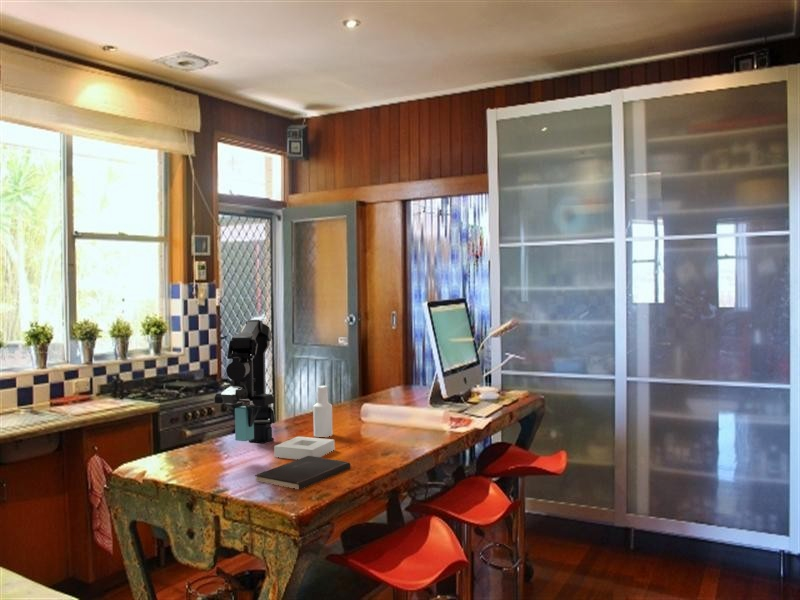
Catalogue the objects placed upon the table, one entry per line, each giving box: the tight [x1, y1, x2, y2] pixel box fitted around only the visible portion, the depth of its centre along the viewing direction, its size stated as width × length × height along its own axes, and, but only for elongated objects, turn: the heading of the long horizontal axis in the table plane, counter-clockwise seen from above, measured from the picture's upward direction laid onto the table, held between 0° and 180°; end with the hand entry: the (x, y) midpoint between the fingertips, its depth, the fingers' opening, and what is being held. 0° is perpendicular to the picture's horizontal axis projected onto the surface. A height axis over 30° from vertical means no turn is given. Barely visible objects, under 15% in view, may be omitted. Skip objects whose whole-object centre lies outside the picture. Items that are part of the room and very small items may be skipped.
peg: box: [234, 405, 254, 442], centre depth 196 cm, size 4×4×10 cm
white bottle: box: [312, 385, 334, 438], centre depth 229 cm, size 7×7×18 cm
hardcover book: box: [254, 456, 351, 491], centre depth 181 cm, size 16×23×2 cm
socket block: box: [273, 436, 336, 460], centre depth 204 cm, size 14×14×4 cm
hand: (244, 426), depth 196 cm, fingers closed on peg, 4 cm apart
